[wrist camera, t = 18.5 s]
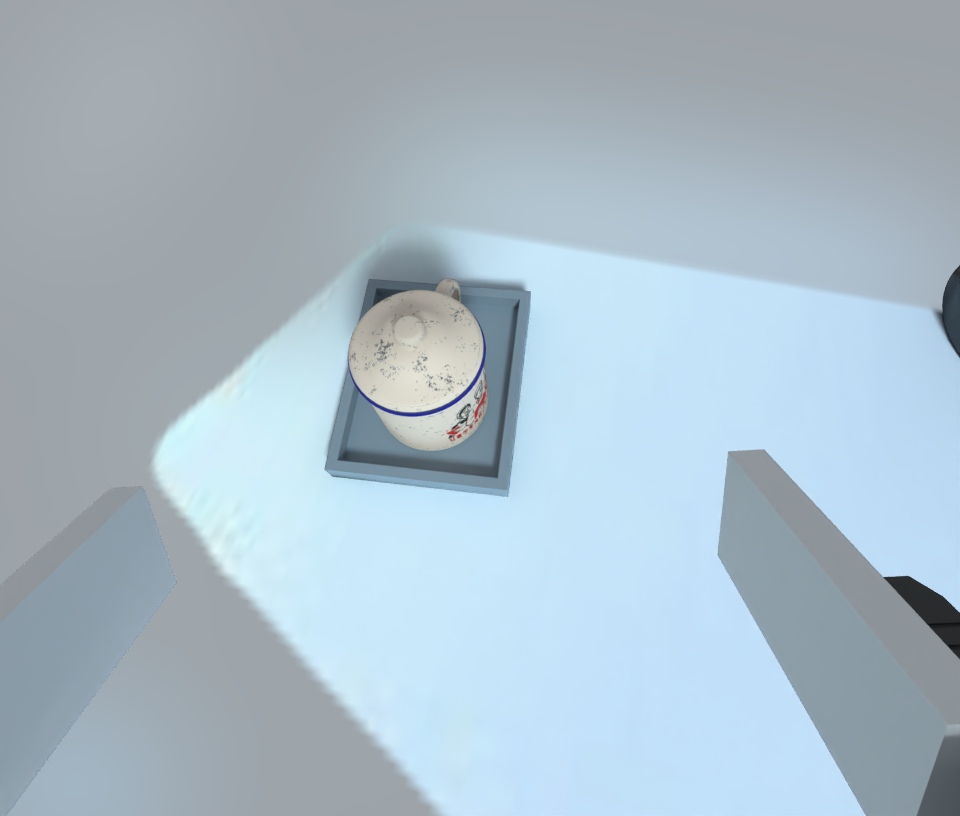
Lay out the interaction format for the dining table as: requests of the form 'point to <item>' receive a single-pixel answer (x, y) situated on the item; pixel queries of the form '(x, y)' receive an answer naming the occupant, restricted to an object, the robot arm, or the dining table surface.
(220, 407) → the dining table surface
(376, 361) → the teacup with lid
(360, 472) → the slate tray
